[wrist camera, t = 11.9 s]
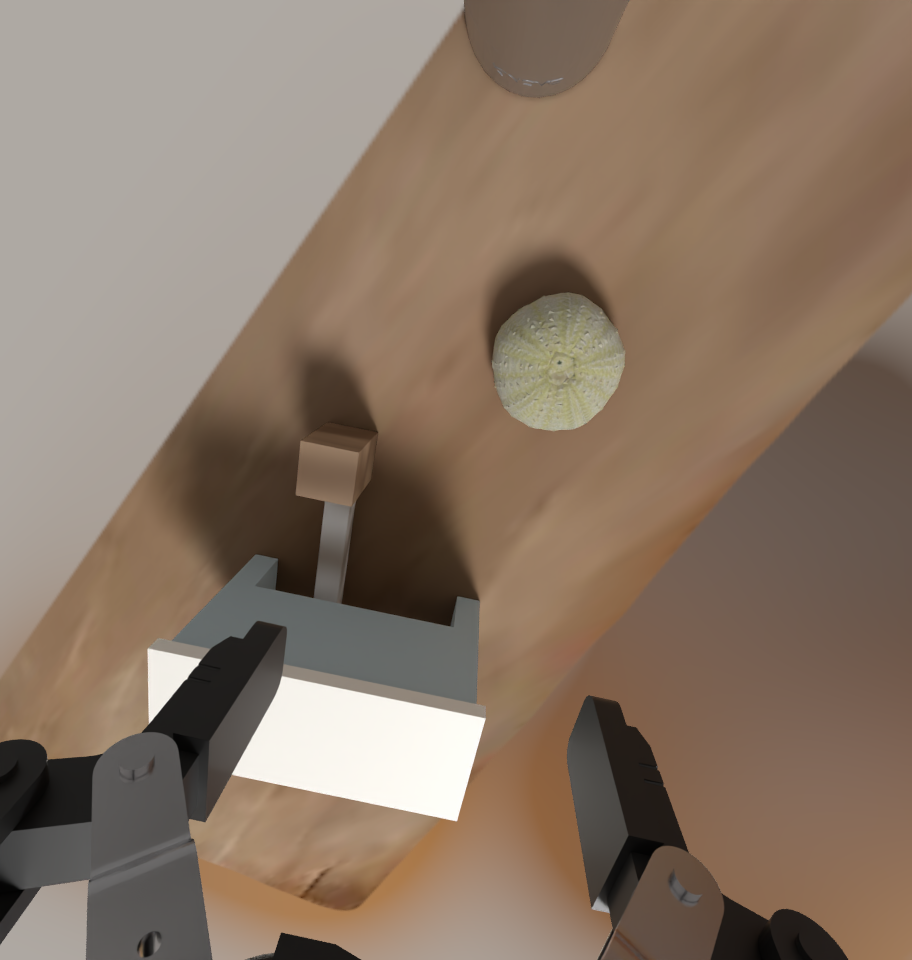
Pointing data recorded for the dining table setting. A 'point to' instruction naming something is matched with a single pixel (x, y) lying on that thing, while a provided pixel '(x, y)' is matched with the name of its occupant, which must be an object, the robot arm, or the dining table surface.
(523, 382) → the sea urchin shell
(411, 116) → the dining table surface
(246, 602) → the bench
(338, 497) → the wooden cube mallet
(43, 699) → the dining table surface
